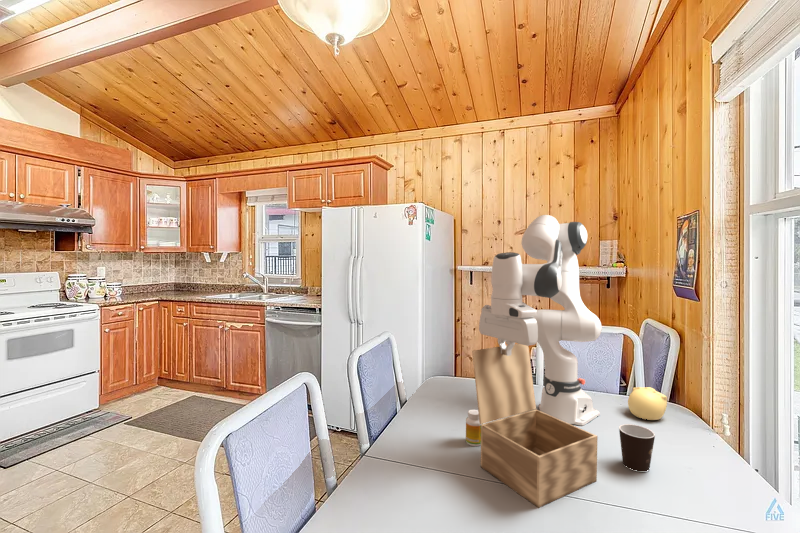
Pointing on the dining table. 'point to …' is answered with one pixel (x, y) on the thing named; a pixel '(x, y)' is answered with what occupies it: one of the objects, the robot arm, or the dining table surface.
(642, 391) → the sculpture
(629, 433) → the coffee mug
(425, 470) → the dining table surface
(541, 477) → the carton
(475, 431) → the supplement bottle
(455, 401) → the dining table surface
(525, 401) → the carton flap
